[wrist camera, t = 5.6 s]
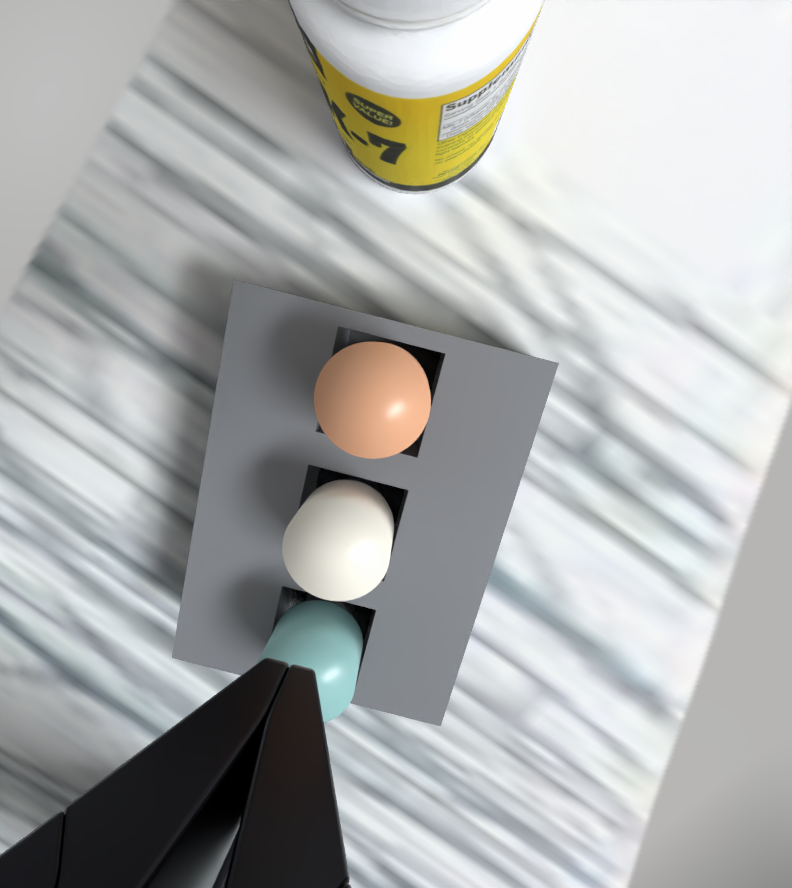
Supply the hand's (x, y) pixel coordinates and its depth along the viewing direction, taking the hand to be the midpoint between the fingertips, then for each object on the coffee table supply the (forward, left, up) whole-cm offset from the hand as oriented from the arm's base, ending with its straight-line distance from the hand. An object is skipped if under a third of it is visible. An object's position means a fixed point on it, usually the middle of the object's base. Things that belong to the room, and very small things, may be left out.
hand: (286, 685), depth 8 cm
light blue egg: (-4, 0, -8) cm, 9 cm away
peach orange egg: (+4, 0, -8) cm, 9 cm away
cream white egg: (0, 0, -8) cm, 8 cm away
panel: (0, 0, -9) cm, 9 cm away
